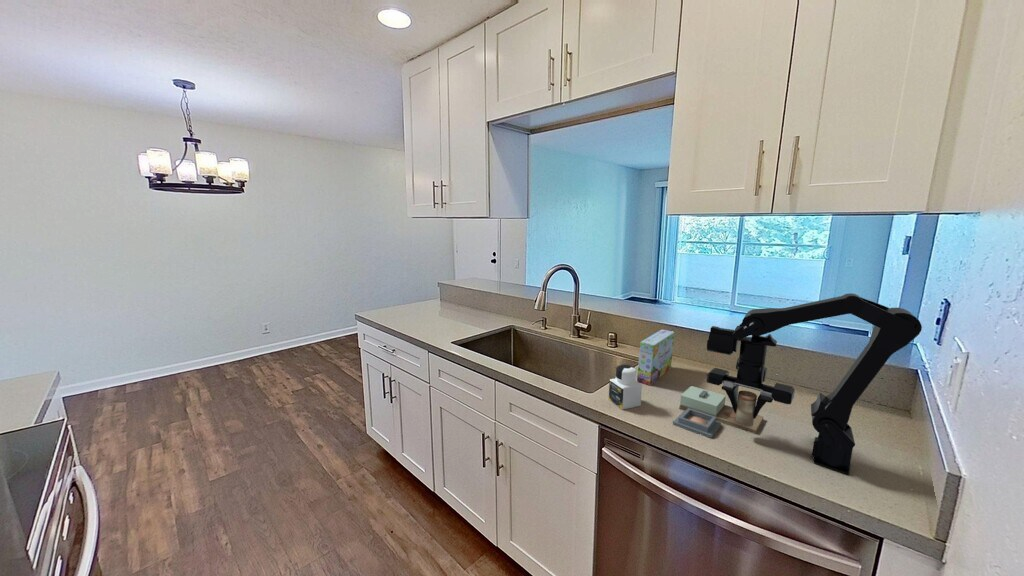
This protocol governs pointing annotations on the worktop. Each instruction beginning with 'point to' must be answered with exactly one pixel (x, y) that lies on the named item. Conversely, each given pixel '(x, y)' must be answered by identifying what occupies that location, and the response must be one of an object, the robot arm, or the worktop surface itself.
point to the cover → (703, 400)
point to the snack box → (655, 356)
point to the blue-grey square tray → (697, 422)
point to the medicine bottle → (625, 388)
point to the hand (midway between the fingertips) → (745, 415)
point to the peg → (745, 408)
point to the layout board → (732, 418)
